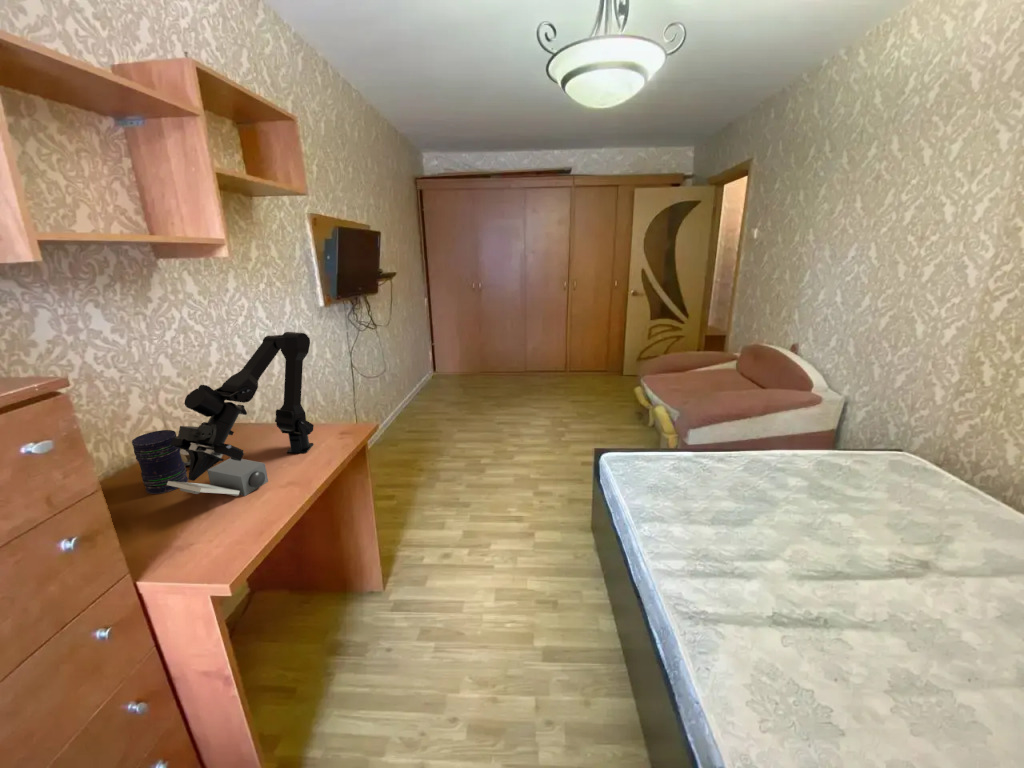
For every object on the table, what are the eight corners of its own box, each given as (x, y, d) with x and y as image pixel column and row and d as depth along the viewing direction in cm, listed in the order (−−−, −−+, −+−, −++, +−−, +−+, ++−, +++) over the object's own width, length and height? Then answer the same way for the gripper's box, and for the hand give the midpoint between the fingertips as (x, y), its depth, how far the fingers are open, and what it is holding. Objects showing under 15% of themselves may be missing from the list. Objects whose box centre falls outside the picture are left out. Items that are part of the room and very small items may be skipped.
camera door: (210, 484, 122) (168, 481, 110) (241, 490, 119) (201, 488, 107) (208, 490, 121) (165, 488, 110) (239, 497, 118) (198, 495, 107)
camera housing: (236, 475, 130) (232, 457, 128) (271, 482, 126) (268, 463, 125) (211, 488, 123) (207, 470, 121) (248, 496, 119) (244, 477, 117)
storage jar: (177, 492, 121) (164, 443, 116) (137, 495, 119) (122, 446, 114) (195, 474, 130) (183, 428, 126) (158, 477, 128) (144, 431, 124)
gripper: (168, 407, 112) (134, 465, 106) (224, 416, 107) (192, 477, 101) (203, 423, 122) (174, 477, 116) (256, 432, 117) (228, 489, 111)
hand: (190, 480), depth 110 cm, fingers closed
